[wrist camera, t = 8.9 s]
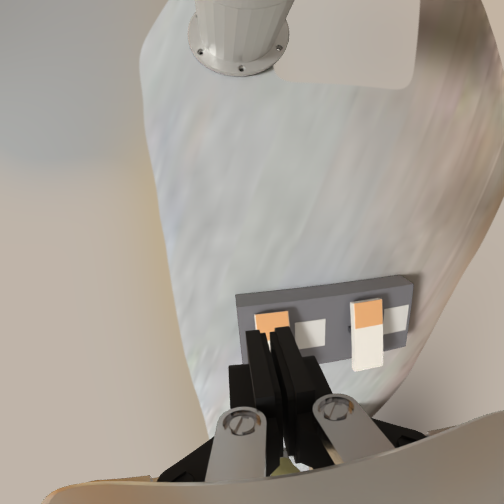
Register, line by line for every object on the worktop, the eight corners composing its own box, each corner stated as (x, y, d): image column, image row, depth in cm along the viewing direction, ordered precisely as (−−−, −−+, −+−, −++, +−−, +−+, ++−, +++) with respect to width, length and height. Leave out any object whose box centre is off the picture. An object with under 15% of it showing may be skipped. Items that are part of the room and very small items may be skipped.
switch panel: (235, 294, 42) (237, 312, 37) (399, 274, 44) (419, 287, 38) (241, 357, 45) (244, 380, 39) (393, 334, 46) (410, 351, 41)
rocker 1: (254, 314, 39) (254, 314, 37) (286, 310, 39) (288, 311, 38) (261, 385, 37) (262, 388, 36) (293, 381, 37) (295, 383, 36)
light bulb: (262, 446, 50) (269, 488, 41) (293, 439, 50) (304, 480, 41) (268, 462, 52) (275, 502, 42) (296, 456, 52) (307, 495, 42)
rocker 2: (349, 302, 39) (353, 303, 37) (378, 297, 39) (382, 299, 38) (352, 368, 39) (355, 372, 37) (379, 362, 39) (383, 365, 38)
